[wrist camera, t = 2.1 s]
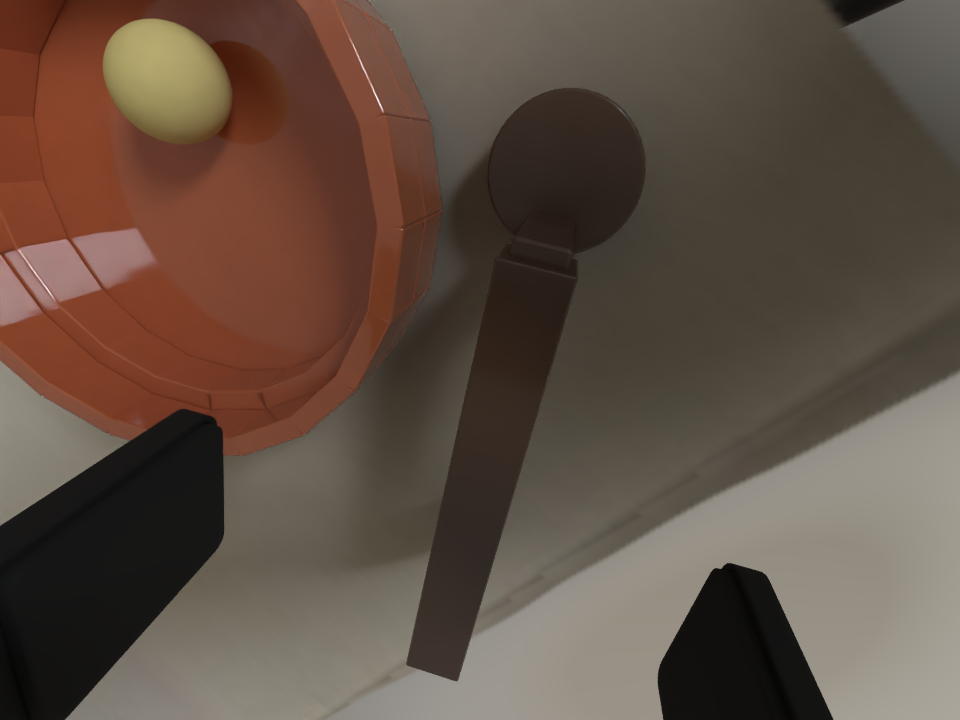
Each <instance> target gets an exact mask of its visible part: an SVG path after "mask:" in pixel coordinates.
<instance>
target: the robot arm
mask: <svg viewBox="0 0 960 720" xmlns="http://www.w3.org/2000/svg"><path fill="white" fill-rule="evenodd" d="M223 535H224V473H223V430H222V428H221V427H219V426H217V421H216V420H215V418H214V417H212V416H209V415H206V414H202V413H199V412H195V411H192V410H188V409H179V410H177V411H175V412H174V413H172V414H171V415H169V416H168V417H166V418H165V419H163V420H161V421H160V422H158V423H157V424H155V425H154V426H152V427H151V428H149V429H148V430H146V431H145V432H143V433H142V434H140V435H139V436H137V437H135V438H134V439H132V440H131V441H129V442H128V443H126V444H125V445H123V446H122V447H120V448H119V449H117V450H116V451H114V452H113V453H111V454H110V455H108V456H106V457H105V458H103V459H102V460H100V461H99V462H97V463H96V464H94V465H93V466H91V467H90V468H88V469H87V470H85V471H84V472H82V473H80V474H79V475H77V476H76V477H74V478H73V479H71V480H70V481H68V482H67V483H65V484H64V485H62V486H61V487H59V488H58V489H56V490H54V491H53V492H51V493H50V494H48V495H47V496H45V497H44V498H42V499H41V500H39V501H38V502H36V503H35V504H33V505H32V506H30V507H28V508H27V509H25V510H24V511H22V512H21V513H19V514H18V515H16V516H15V517H13V518H12V519H10V520H9V521H7V522H6V523H4V524H3V525H1V526H0V720H65V719H66V718H67V717H68V716H69V715H70V714H71V713H72V711H73V710H74V709H75V708H76V707H77V706H78V705H79V704H80V702H81V701H82V700H83V699H84V698H85V697H86V696H87V695H88V694H89V692H90V691H91V690H92V689H93V688H94V687H95V686H96V685H97V683H98V682H99V681H100V680H101V679H102V678H103V677H104V676H105V674H106V673H107V672H108V671H109V670H110V669H111V668H112V667H113V665H114V664H115V663H116V662H117V661H118V660H119V659H120V658H121V657H122V655H123V654H124V653H125V652H126V651H127V650H128V649H129V648H130V646H131V645H132V644H133V643H134V642H135V641H136V640H137V639H138V637H139V636H140V635H141V634H142V633H143V632H144V631H145V630H146V629H147V627H148V626H149V625H150V624H151V623H152V622H153V621H154V620H155V618H156V617H157V616H158V615H159V614H160V613H161V612H162V611H163V609H164V608H165V607H166V606H167V605H168V604H169V603H170V602H171V601H172V599H173V598H174V597H175V596H176V595H177V594H178V593H179V592H180V590H181V589H182V588H183V587H184V586H185V585H186V584H187V583H188V581H189V580H190V579H191V578H192V577H193V576H194V575H195V574H196V573H197V571H198V570H199V569H200V568H201V567H202V566H203V565H204V564H205V562H206V561H207V560H208V559H209V558H210V557H211V556H212V555H213V553H214V552H215V551H216V550H217V548H218V547H219V545H220V543H221V541H222V539H223ZM658 689H659V695H660V701H661V707H662V714H663V720H833V718H832V716H831V713H830V711H829V709H828V707H827V705H826V702H825V700H824V698H823V696H822V694H821V692H820V689H819V687H818V686H817V683H816V681H815V679H814V676H813V674H812V672H811V670H810V668H809V666H808V663H807V661H806V659H805V657H804V655H803V652H802V650H801V648H800V646H799V644H798V642H797V640H796V637H795V635H794V633H793V631H792V629H791V627H790V624H789V622H788V620H787V618H786V616H785V613H784V611H783V609H782V607H781V605H780V603H779V601H778V599H777V596H776V594H775V592H774V590H773V587H772V585H771V583H770V581H769V579H768V578H767V576H766V575H765V574H764V573H763V572H760V571H756V570H753V569H750V568H746V567H742V566H738V565H735V564H732V563H727V564H726V565H724V566H723V568H722V569H718V568H715V569H713V570H712V572H711V573H710V575H709V577H708V579H707V580H706V582H705V584H704V586H703V587H702V589H701V591H700V593H699V595H698V596H697V598H696V600H695V602H694V604H693V606H692V607H691V609H690V611H689V613H688V615H687V616H686V618H685V620H684V622H683V624H682V625H681V627H680V629H679V631H678V633H677V634H676V636H675V638H674V640H673V642H672V643H671V645H670V647H669V649H668V651H667V652H666V654H665V656H664V658H663V660H662V662H661V664H660V667H659V671H658Z"/></svg>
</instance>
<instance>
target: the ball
mask: <svg viewBox="0 0 960 720" xmlns="http://www.w3.org/2000/svg"><path fill="white" fill-rule="evenodd" d="M103 75H104V80H105V84H106V86H107V89H108V92H109V94H110V96H111V98H112V100H113V101H114V103H115V105H116V106H117V108H118V109H119V110H120V111H121V113H122V114H123V115H124V116H125V117H126V118H127V119H128V120H129V121H130V122H131V123H132V124H133V125H135V126H136V127H137V128H138V129H140V130H141V131H143V132H144V133H146V134H148V135H150V136H152V137H154V138H156V139H158V140H161V141H165V142H168V143H173V144H181V145H188V144H196V143H200V142H203V141H206V140H208V139H210V138H212V137H213V136H215V135H216V134H217V133H218V132H219V131H220V130H221V129H222V128H223V127H224V125H225V124H226V122H227V120H228V118H229V116H230V113H231V109H232V101H233V94H232V86H231V82H230V78H229V75H228V73H227V70H226V68H225V66H224V64H223V63H222V61H221V59H220V58H219V56H218V55H217V54H216V52H215V51H214V50H213V49H212V48H211V47H210V45H209V44H208V43H207V42H205V41H204V40H203V39H202V38H201V37H200V36H198V35H197V34H195V33H194V32H192V31H191V30H189V29H188V28H186V27H184V26H181V25H179V24H177V23H174V22H171V21H167V20H162V19H141V20H136V21H132V22H130V23H128V24H126V25H124V26H123V27H121V28H120V29H118V30H117V31H116V32H115V33H114V34H113V36H112V37H111V38H110V40H109V42H108V44H107V46H106V49H105V52H104V57H103Z"/></svg>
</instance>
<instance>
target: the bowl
mask: <svg viewBox="0 0 960 720" xmlns="http://www.w3.org/2000/svg"><path fill="white" fill-rule="evenodd" d="M141 19H162V20H167V21H171V22H174V23H177V24H179V25H181V26H184V27H186V28H188V29H189V30H191V31H192V32H194V33H195V34H197V35H198V36H200V37H201V38H202V39H203V40H204V41H205V42H207V43H208V44H209V45H210V47H211V48H212V49H213V50H214V51H215V52H216V54H217V55H218V56H219V58H220V59H221V61H222V63H223V64H224V66H225V68H226V70H227V73H228V75H229V78H230V82H231V86H232V94H233V101H232V109H231V113H230V116H229V118H228V120H227V122H226V124H225V125H224V127H223V128H222V129H221V130H220V131H219V132H218V133H217V134H216V135H215V136H213V137H212V138H210V139H208V140H206V141H203V142H200V143H196V144H188V145H181V144H173V143H168V142H165V141H161V140H158V139H156V138H154V137H152V136H150V135H148V134H146V133H144V132H143V131H141V130H140V129H138V128H137V127H136V126H135V125H133V124H132V123H131V122H130V121H129V120H128V119H127V118H126V117H125V116H124V115H123V114H122V113H121V111H120V110H119V109H118V108H117V106H116V105H115V103H114V101H113V100H112V98H111V96H110V94H109V92H108V89H107V86H106V84H105V80H104V75H103V57H104V52H105V49H106V46H107V44H108V42H109V40H110V38H111V37H112V36H113V34H114V33H115V32H116V31H117V30H118V29H120V28H121V27H123V26H124V25H126V24H128V23H130V22H132V21H136V20H141ZM441 210H442V201H441V194H440V186H439V179H438V171H437V163H436V156H435V148H434V140H433V133H432V125H431V122H430V117H429V115H428V113H427V110H426V108H425V106H424V103H423V101H422V99H421V96H420V94H419V92H418V89H417V87H416V85H415V82H414V80H413V78H412V76H411V73H410V71H409V69H408V66H407V64H406V62H405V59H404V57H403V55H402V52H401V50H400V48H399V45H398V43H397V41H396V38H395V36H394V34H393V32H392V31H391V30H390V27H389V26H388V25H387V23H386V22H385V21H384V20H383V19H382V17H381V16H380V15H379V14H378V12H377V11H376V10H375V9H374V8H373V6H372V5H371V4H370V3H369V1H368V0H0V360H1V361H2V362H3V363H4V364H5V365H6V366H7V367H9V368H10V369H11V370H12V371H13V372H14V373H15V374H17V375H18V376H19V377H20V378H21V379H22V380H24V381H25V382H26V383H27V384H28V385H29V386H30V387H32V388H33V389H34V390H35V391H36V392H37V393H38V394H40V395H41V396H42V395H43V396H44V398H46V399H48V400H50V401H51V402H53V403H55V404H57V405H58V406H60V407H62V408H64V409H65V410H67V411H69V412H71V413H72V414H74V415H76V416H78V417H79V418H81V419H83V420H85V421H86V422H88V423H90V424H92V425H93V426H95V427H97V428H99V429H100V430H102V431H104V432H106V433H110V435H113V436H116V437H119V438H123V439H126V440H129V441H131V440H132V439H134V438H135V437H137V436H139V435H140V434H142V433H143V432H145V431H146V430H148V429H149V428H151V427H152V426H154V425H155V424H157V423H158V422H160V421H161V420H163V419H165V418H166V417H168V416H169V415H171V414H172V413H174V412H175V411H177V410H179V409H188V410H192V411H195V412H199V413H202V414H206V415H209V416H212V417H214V418H215V420H216V421H217V426H219V427H221V428H222V430H223V455H231V456H241V455H243V456H244V455H247V454H250V453H253V452H256V451H259V450H262V449H265V448H268V447H271V446H274V445H277V444H280V443H283V442H286V441H289V440H292V439H295V438H298V437H301V436H303V435H304V434H306V433H308V432H309V431H310V430H311V429H312V428H314V427H315V426H316V425H317V424H318V423H319V422H321V421H322V420H323V419H324V418H325V417H326V416H328V415H329V414H330V413H331V412H332V411H334V410H335V409H336V408H337V407H338V406H339V405H341V404H342V403H343V402H344V401H345V400H346V399H348V398H349V397H350V396H351V395H352V394H353V393H355V391H356V390H357V389H358V388H359V387H360V386H361V385H362V384H363V383H364V382H365V380H366V379H367V378H368V377H369V376H370V375H371V374H372V373H373V372H374V371H375V370H376V368H377V367H378V366H379V365H380V364H381V363H382V362H383V361H384V360H385V359H386V358H387V357H388V355H389V354H390V353H391V352H392V351H393V350H394V349H395V348H396V347H397V345H398V344H399V343H400V341H401V339H402V337H403V335H404V333H405V332H406V330H407V328H408V326H409V324H410V322H411V320H412V319H413V317H414V315H415V313H416V311H417V309H418V307H419V306H420V304H421V302H422V300H423V298H424V296H425V295H426V293H427V291H428V289H429V285H430V282H431V276H432V270H433V264H434V258H435V252H436V246H437V240H438V234H439V228H440V222H441V216H442V211H441Z"/></svg>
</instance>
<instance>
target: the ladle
mask: <svg viewBox="0 0 960 720" xmlns="http://www.w3.org/2000/svg"><path fill="white" fill-rule="evenodd" d="M644 178H645V154H644V148H643V144H642V141H641V138H640V135H639V133H638V130H637V128H636V127H635V125H634V123H633V122H632V120H631V118H630V117H629V116H628V115H627V114H626V112H625V111H624V110H623V109H622V108H621V107H620V106H618V105H617V104H616V103H615V102H613V101H612V100H610V99H609V98H607V97H606V96H603V95H601V94H599V93H597V92H594V91H590V90H587V89H580V88H562V89H555V90H551V91H548V92H545V93H542V94H540V95H538V96H536V97H533V98H532V99H530V100H529V101H527V102H525V103H524V104H523V105H521V106H520V107H519V108H518V109H517V110H516V111H515V112H514V113H513V114H512V115H511V116H510V117H509V118H508V119H507V120H506V122H505V123H504V125H503V126H502V127H501V129H500V131H499V133H498V135H497V136H496V138H495V141H494V144H493V146H492V149H491V153H490V156H489V162H488V169H487V181H488V191H489V195H490V199H491V202H492V205H493V208H494V210H495V212H496V214H497V216H498V218H499V219H500V221H501V222H502V224H503V225H504V227H505V228H506V229H507V230H508V231H509V232H510V233H511V234H512V235H513V236H514V238H513V240H512V244H510V243H507V244H506V245H505V247H504V248H503V250H502V251H501V252H500V254H499V255H498V256H497V258H496V259H495V263H494V267H493V272H492V276H491V281H490V285H489V290H488V294H487V299H486V303H485V308H484V313H483V317H482V322H481V326H480V331H479V335H478V340H477V344H476V349H475V353H474V358H473V362H472V367H471V372H470V376H469V381H468V385H467V390H466V394H465V399H464V403H463V408H462V412H461V417H460V421H459V426H458V431H457V435H456V440H455V444H454V449H453V453H452V458H451V462H450V467H449V471H448V476H447V480H446V485H445V490H444V494H443V499H442V503H441V508H440V512H439V517H438V521H437V526H436V530H435V535H434V539H433V544H432V549H431V553H430V558H429V562H428V567H427V571H426V576H425V580H424V585H423V589H422V594H421V598H420V603H419V608H418V612H417V617H416V621H415V626H414V630H413V635H412V639H411V644H410V648H409V653H408V657H407V662H406V665H407V666H410V667H413V668H416V669H420V670H423V671H426V672H429V673H432V674H435V675H438V676H441V677H445V678H447V679H450V680H454V681H458V679H459V676H460V672H461V669H462V666H463V662H464V659H465V656H466V652H467V649H468V646H469V642H470V639H471V635H472V632H473V629H474V625H475V622H476V619H477V615H478V612H479V609H480V605H481V602H482V599H483V595H484V592H485V589H486V585H487V582H488V578H489V575H490V572H491V568H492V565H493V562H494V558H495V555H496V552H497V548H498V545H499V542H500V538H501V535H502V532H503V528H504V525H505V522H506V518H507V515H508V511H509V508H510V505H511V501H512V498H513V495H514V491H515V488H516V485H517V481H518V478H519V475H520V471H521V468H522V465H523V461H524V458H525V454H526V451H527V448H528V444H529V441H530V438H531V434H532V431H533V428H534V424H535V421H536V418H537V414H538V411H539V408H540V404H541V401H542V398H543V394H544V391H545V387H546V384H547V381H548V377H549V374H550V371H551V367H552V364H553V361H554V357H555V354H556V351H557V347H558V344H559V341H560V337H561V334H562V330H563V327H564V324H565V320H566V317H567V314H568V310H569V307H570V304H571V300H572V297H573V294H574V290H575V287H576V284H577V280H578V261H577V260H575V259H572V255H573V253H577V252H582V251H585V250H588V249H591V248H593V247H595V246H597V245H599V244H601V243H603V242H604V241H606V240H607V239H609V238H610V237H611V236H613V235H614V234H615V233H616V232H617V231H618V230H619V229H620V228H621V227H622V226H623V225H624V224H625V223H626V221H627V220H628V218H629V217H630V216H631V214H632V212H633V211H634V209H635V207H636V205H637V203H638V200H639V198H640V195H641V192H642V188H643V185H644Z"/></svg>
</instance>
